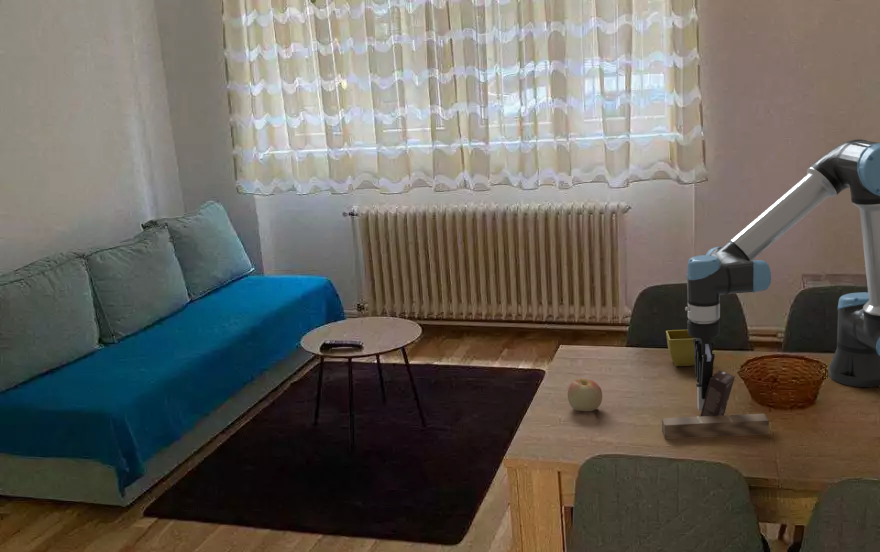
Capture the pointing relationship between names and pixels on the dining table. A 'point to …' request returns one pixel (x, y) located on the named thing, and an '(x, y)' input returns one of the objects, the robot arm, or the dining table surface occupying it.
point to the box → (717, 394)
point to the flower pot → (681, 347)
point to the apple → (584, 395)
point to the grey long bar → (715, 426)
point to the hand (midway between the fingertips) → (703, 408)
